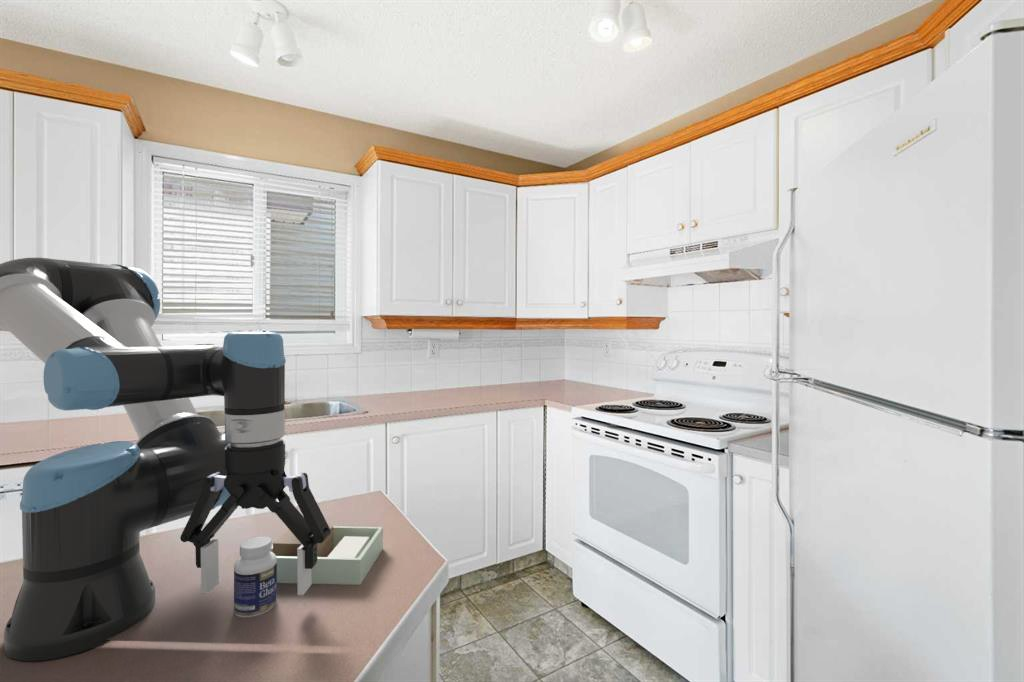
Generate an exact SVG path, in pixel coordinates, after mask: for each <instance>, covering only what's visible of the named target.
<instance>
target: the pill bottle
mask: <svg viewBox="0 0 1024 682" xmlns="http://www.w3.org/2000/svg"><path fill="white" fill-rule="evenodd" d="M272 545H273V543H272V539H271V538H270V537H268V536H256V537H251V538H248V539H245V540H243V541H242V542H241V543H240V544H239V556H240V557H239V558H238V559H237V560H236V561H235V563H234V566H233V612H234V615H236V616H238V617H241V618H251V617H257V616H260V615H263V614H265V613H266V612H269V611H270V610H272V609H273V608H274V607H275V605H276V604H277V597H278V596H277V594H278V593H277V591H278V588H277V587H278V585H277V584H278V583H277V558H276V555H275V554H274V553H273V552H271V548H272Z"/></svg>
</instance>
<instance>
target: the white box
mask: <svg viewBox="0 0 1024 682" xmlns="http://www.w3.org/2000/svg"><path fill="white" fill-rule="evenodd" d="M368 543H369V537H355V536H344V538H343V539H342V540H341V541H340V542H339V543H338V545H337V546H336V547H335V548H334V549H333V551H332V552H331V553H330V554H329V555H328V557H341V558H358V557H359V556H360V554H361V553H362V551H363V550H364V549H365V547H366V546H367V544H368Z"/></svg>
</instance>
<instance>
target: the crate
mask: <svg viewBox="0 0 1024 682" xmlns="http://www.w3.org/2000/svg"><path fill="white" fill-rule="evenodd" d="M332 526H333V549H334V548H335V547H336V546H337V545H338V543H339V542H340V541H341V540H342V539H343V538H344V536H355V537H369V543H368V544H367V546H366V547H365V549H364V550H363V551H362V553H361V554H360V556H359V557H358V558H341V557H317V563H316V564H315V566H314V567H313V568H312V569H311V583H312V585H345V586H346V585H347V586H350V585H353V586H361V584H362V583H363V581H364V580H365V578H366V576H367V575H368V573H369V572H370V570H371V568H372V567H373V565H374V564H375V562H376V560H377V559H378V557H379V556H380V554H381V552H382V551H383V549H384V548H383V547H384V546H383V544H384V540H383V539H384V528H383V527H382V526H351V525H350V526H349V525H348V526H347V525H346V526H345V525H343V526H342V525H339V526H338V525H337V526H336V525H332ZM271 552H273V544H272V548H271ZM276 558H277V584H298V579H297V556H276Z"/></svg>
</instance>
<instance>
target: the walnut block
mask: <svg viewBox="0 0 1024 682" xmlns="http://www.w3.org/2000/svg"><path fill="white" fill-rule="evenodd" d="M328 526H329V528H330V530H331V534H330V535H329V536H328V537H327V538H326V539H325V540H324V541H323V542H322V543H317V557H328V555H329V554H330V553H331V552H332V551H333V526H334V525H328ZM272 545H273V553H274V554H275V555H276V556H297V549H298V548H299V547H300V546H301V545H302V544H301V543H300V541H299V540H298V539H297V538H296V537H295V535H294V534H293V533H292V532H291V531H290V530H289V529H288V530H286V531H285V532H284V533H283V534H282V535H280V537H279V538H277V539H276V540H274V542H273V543H272Z"/></svg>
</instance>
